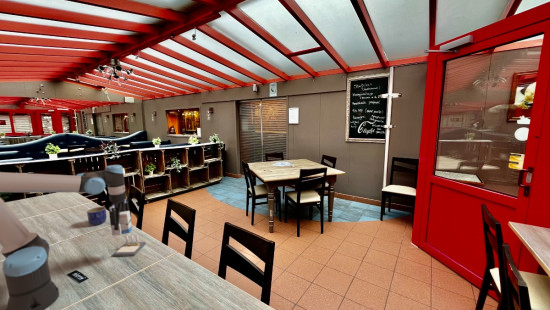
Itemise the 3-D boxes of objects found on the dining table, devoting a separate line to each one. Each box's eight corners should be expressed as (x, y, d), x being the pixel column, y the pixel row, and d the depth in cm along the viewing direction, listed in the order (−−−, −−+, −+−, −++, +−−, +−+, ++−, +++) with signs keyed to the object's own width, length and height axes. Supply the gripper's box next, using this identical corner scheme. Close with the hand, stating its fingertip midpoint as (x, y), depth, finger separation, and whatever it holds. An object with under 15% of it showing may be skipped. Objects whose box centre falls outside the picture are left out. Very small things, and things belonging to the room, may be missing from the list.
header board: (134, 255, 124) (133, 243, 123) (112, 256, 124) (111, 244, 122) (145, 244, 136) (144, 233, 135) (126, 244, 135) (124, 233, 134)
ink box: (132, 229, 126) (130, 210, 124) (129, 233, 121) (126, 213, 120) (115, 231, 124) (113, 212, 122) (111, 235, 119) (108, 215, 117)
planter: (104, 225, 161) (102, 211, 159) (86, 227, 157) (84, 213, 155) (109, 219, 171) (107, 205, 169) (92, 221, 167) (90, 207, 165)
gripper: (112, 198, 110) (118, 240, 114) (134, 187, 128) (138, 223, 132) (97, 199, 110) (103, 241, 113) (121, 187, 128) (125, 224, 132)
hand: (122, 231), depth 123 cm, fingers closed on ink box, 6 cm apart
